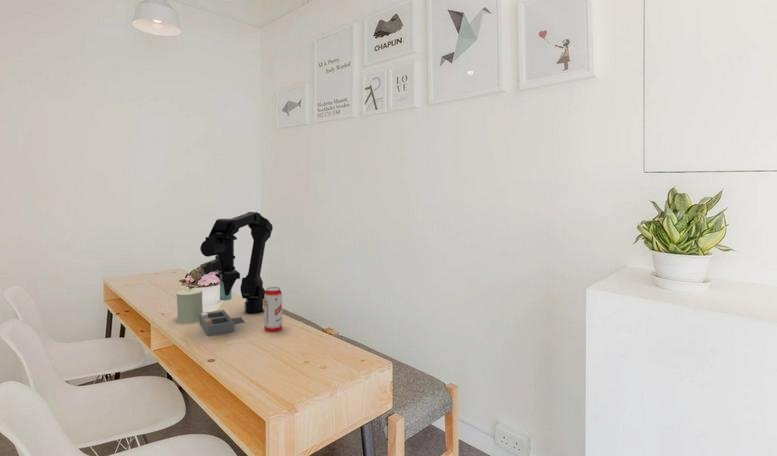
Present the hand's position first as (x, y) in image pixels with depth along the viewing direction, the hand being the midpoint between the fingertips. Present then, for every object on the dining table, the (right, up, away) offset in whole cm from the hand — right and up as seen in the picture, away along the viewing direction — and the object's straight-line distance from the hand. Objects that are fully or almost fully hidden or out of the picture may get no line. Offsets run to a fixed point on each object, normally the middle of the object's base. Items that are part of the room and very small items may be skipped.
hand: (225, 294), depth 151 cm
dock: (-4, -13, +1) cm, 13 cm away
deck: (+1, -12, +7) cm, 14 cm away
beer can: (+18, -14, 0) cm, 23 cm away
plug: (0, -2, 0) cm, 2 cm away
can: (-17, -12, +8) cm, 22 cm away
